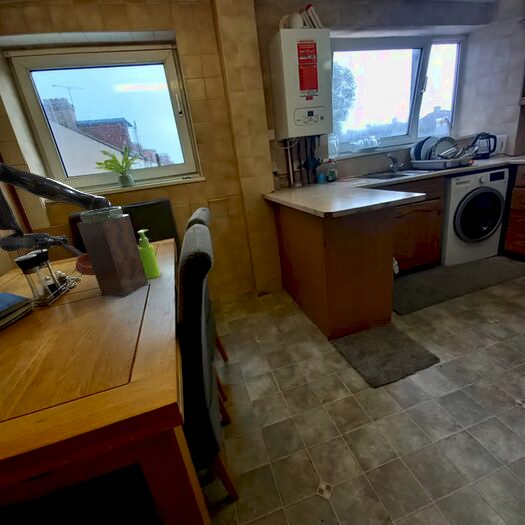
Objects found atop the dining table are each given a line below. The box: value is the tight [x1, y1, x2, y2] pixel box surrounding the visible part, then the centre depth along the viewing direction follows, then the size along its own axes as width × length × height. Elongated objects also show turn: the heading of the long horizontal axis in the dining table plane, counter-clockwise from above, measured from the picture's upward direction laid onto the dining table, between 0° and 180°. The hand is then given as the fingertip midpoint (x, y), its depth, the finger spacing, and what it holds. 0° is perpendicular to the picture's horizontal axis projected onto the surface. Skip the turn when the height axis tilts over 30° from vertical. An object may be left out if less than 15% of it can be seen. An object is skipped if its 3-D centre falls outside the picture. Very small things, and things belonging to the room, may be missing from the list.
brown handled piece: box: [58, 239, 95, 276], centre depth 113 cm, size 9×22×4 cm
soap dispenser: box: [137, 228, 161, 280], centre depth 116 cm, size 6×7×20 cm
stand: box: [76, 206, 149, 298], centre depth 104 cm, size 13×13×31 cm
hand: (64, 242), depth 112 cm, fingers closed on brown handled piece, 2 cm apart
